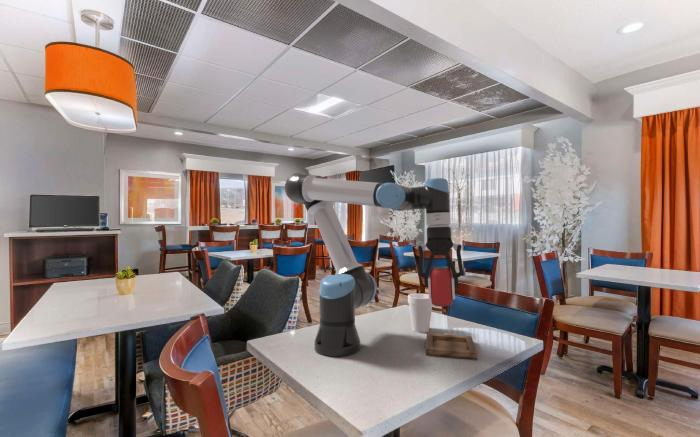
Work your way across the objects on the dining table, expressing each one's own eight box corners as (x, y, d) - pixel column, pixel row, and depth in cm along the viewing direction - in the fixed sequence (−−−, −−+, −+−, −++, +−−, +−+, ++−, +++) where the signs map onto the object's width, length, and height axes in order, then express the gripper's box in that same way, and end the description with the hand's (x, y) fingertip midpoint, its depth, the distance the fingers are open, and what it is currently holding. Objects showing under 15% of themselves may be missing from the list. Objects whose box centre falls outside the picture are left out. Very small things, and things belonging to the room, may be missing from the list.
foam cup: (438, 332, 123) (437, 297, 123) (417, 335, 120) (416, 299, 120) (423, 324, 132) (423, 292, 132) (403, 327, 128) (403, 294, 129)
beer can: (455, 303, 105) (453, 266, 106) (448, 308, 100) (446, 268, 100) (435, 301, 109) (434, 265, 110) (428, 305, 104) (426, 268, 104)
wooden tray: (425, 355, 101) (425, 348, 101) (426, 337, 117) (426, 331, 117) (477, 360, 98) (477, 353, 98) (471, 340, 114) (470, 334, 114)
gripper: (406, 227, 105) (409, 299, 104) (471, 225, 99) (475, 301, 98) (409, 227, 112) (412, 295, 111) (469, 225, 106) (473, 296, 105)
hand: (441, 297), depth 105 cm, fingers closed on beer can, 7 cm apart
